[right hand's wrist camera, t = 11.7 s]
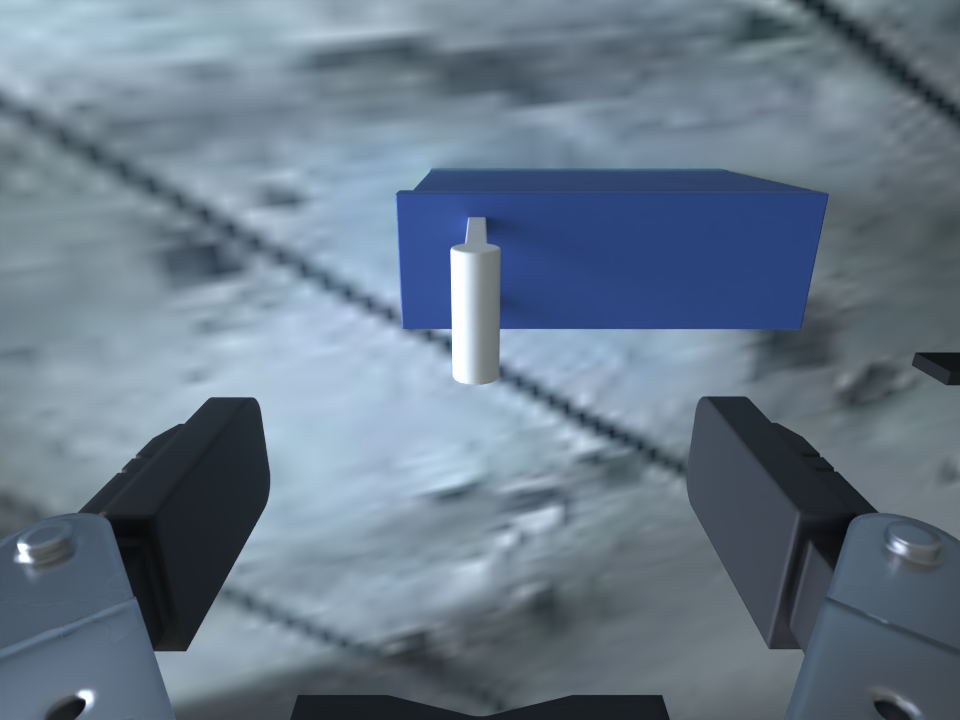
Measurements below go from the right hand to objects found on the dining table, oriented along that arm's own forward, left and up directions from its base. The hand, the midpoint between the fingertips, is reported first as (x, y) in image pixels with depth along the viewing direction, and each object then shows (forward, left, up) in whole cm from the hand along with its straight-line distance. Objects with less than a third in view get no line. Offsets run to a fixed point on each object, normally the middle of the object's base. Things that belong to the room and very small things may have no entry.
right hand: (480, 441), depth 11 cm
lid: (+1, +5, -16) cm, 17 cm away
